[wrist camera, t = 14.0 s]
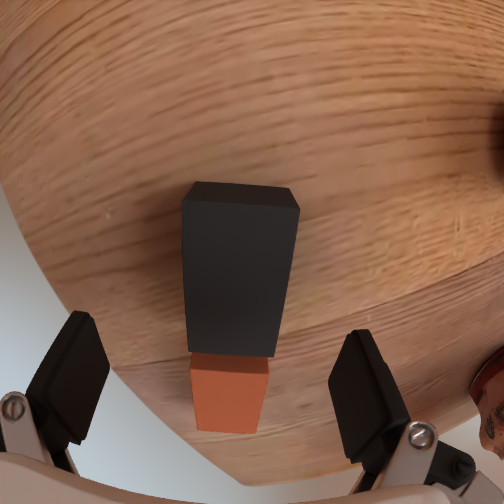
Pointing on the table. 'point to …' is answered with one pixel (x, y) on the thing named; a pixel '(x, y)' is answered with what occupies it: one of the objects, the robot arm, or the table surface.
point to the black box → (236, 266)
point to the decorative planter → (491, 403)
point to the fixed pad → (228, 391)
